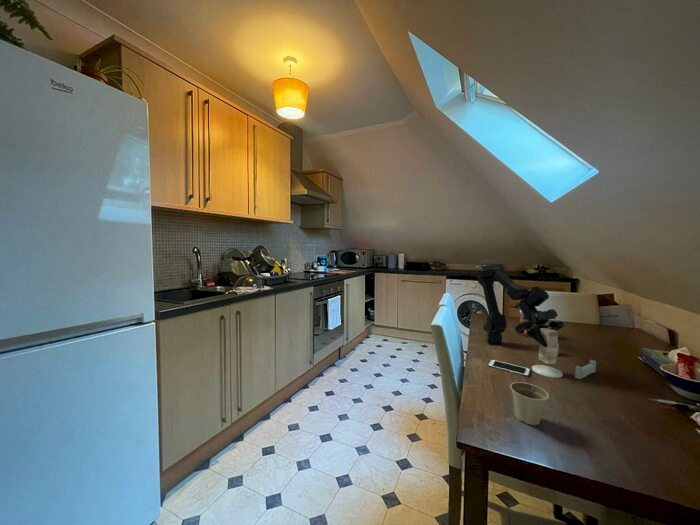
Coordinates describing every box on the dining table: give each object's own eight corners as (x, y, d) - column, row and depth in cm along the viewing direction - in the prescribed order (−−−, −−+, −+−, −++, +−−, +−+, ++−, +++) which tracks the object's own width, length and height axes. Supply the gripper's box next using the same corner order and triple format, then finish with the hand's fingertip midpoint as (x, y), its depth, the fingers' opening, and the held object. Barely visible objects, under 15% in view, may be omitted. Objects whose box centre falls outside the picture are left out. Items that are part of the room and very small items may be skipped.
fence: (575, 377, 103) (575, 366, 102) (590, 370, 109) (591, 359, 109) (579, 379, 101) (580, 368, 101) (595, 371, 108) (596, 361, 107)
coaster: (540, 376, 103) (540, 375, 103) (527, 365, 113) (527, 364, 113) (568, 378, 102) (568, 377, 101) (552, 367, 111) (552, 365, 111)
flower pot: (555, 426, 75) (557, 396, 74) (530, 432, 72) (531, 402, 71) (525, 406, 84) (526, 380, 83) (501, 411, 81) (502, 384, 80)
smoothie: (514, 333, 155) (516, 299, 154) (528, 332, 156) (529, 299, 155) (525, 338, 147) (527, 302, 146) (539, 337, 148) (541, 302, 146)
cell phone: (490, 361, 118) (491, 358, 118) (530, 370, 109) (530, 368, 108) (487, 367, 112) (487, 365, 112) (528, 378, 103) (528, 375, 103)
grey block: (550, 355, 124) (551, 344, 124) (543, 351, 128) (543, 341, 127) (558, 354, 124) (558, 344, 124) (550, 351, 128) (551, 341, 128)
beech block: (538, 359, 109) (540, 328, 108) (547, 358, 109) (549, 328, 108) (547, 363, 105) (549, 331, 104) (556, 363, 105) (558, 331, 104)
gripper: (521, 302, 108) (543, 338, 98) (562, 301, 111) (587, 336, 100) (506, 316, 116) (525, 350, 106) (544, 315, 119) (566, 348, 109)
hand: (551, 346), depth 105 cm, fingers closed on beech block, 4 cm apart
